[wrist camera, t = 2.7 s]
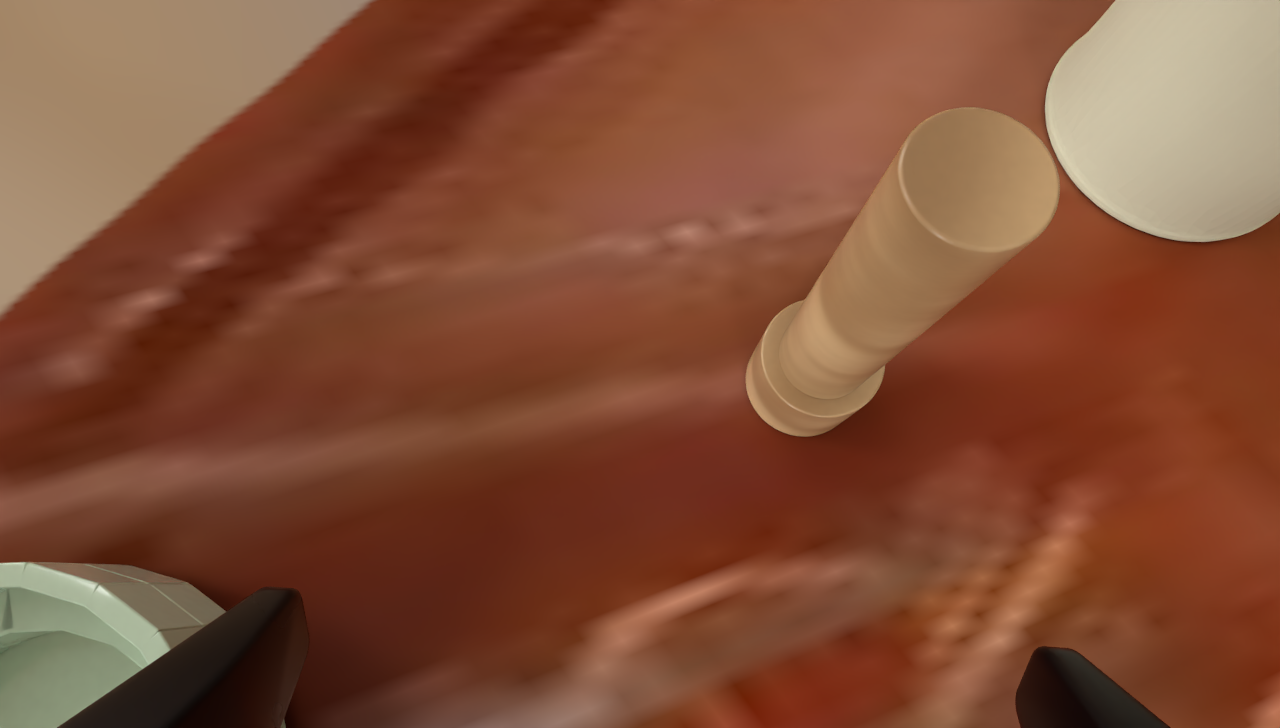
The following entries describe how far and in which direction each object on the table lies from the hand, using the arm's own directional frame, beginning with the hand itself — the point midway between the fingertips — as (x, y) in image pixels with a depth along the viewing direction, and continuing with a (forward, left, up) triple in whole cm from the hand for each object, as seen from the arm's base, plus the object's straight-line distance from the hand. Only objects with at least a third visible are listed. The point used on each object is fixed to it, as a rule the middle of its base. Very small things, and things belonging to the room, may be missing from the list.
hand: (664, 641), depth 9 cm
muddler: (-3, -8, -14) cm, 16 cm away
